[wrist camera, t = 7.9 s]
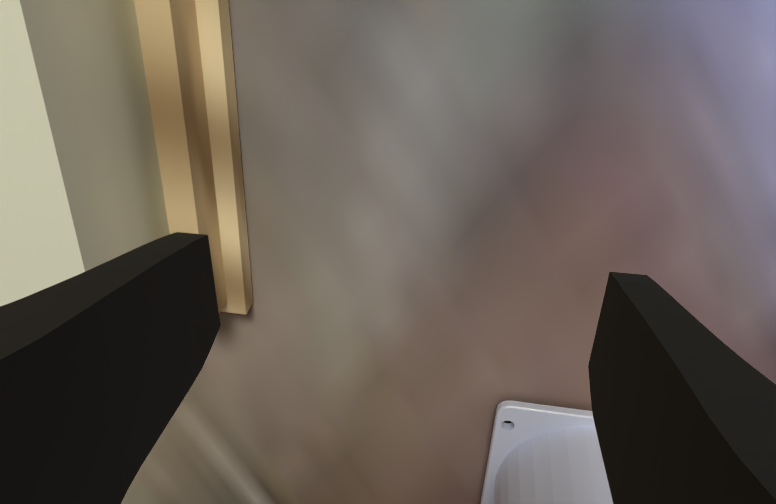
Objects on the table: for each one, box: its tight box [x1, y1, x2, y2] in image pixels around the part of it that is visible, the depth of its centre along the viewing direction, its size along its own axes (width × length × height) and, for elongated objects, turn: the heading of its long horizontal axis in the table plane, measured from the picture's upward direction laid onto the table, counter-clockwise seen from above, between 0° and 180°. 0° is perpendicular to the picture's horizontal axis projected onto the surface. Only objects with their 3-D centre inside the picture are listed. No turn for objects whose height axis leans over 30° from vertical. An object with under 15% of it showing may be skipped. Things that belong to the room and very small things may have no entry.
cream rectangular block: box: [0, 0, 170, 306], centre depth 18 cm, size 12×4×5 cm, turn 178°
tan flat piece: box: [134, 0, 253, 315], centre depth 20 cm, size 15×8×2 cm, turn 178°
